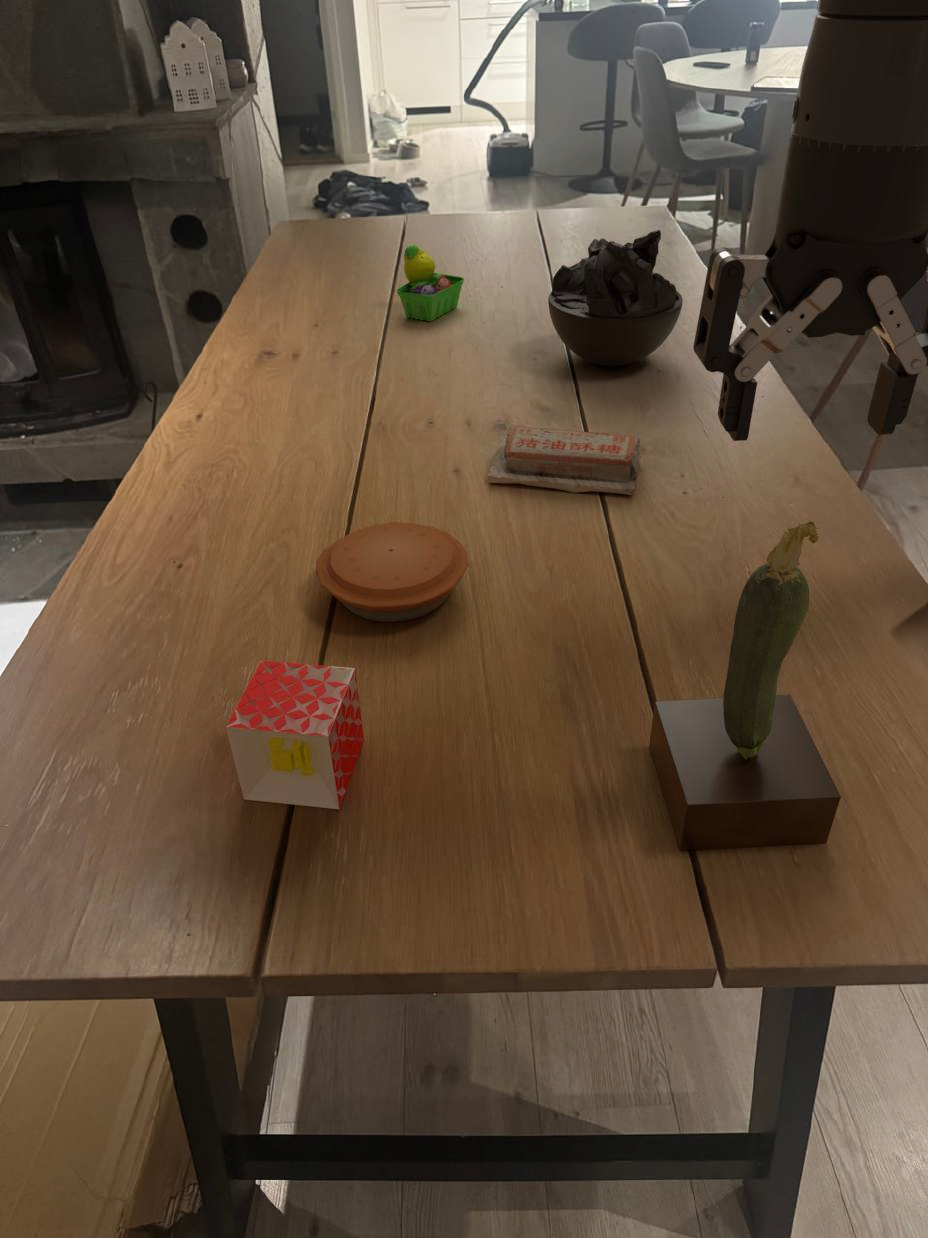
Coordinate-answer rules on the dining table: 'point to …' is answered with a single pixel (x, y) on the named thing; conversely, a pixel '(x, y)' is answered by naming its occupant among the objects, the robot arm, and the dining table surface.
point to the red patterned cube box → (297, 734)
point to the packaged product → (568, 460)
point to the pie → (392, 570)
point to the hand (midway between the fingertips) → (807, 432)
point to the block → (740, 779)
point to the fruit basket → (427, 287)
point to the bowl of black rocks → (614, 302)
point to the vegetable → (764, 640)
